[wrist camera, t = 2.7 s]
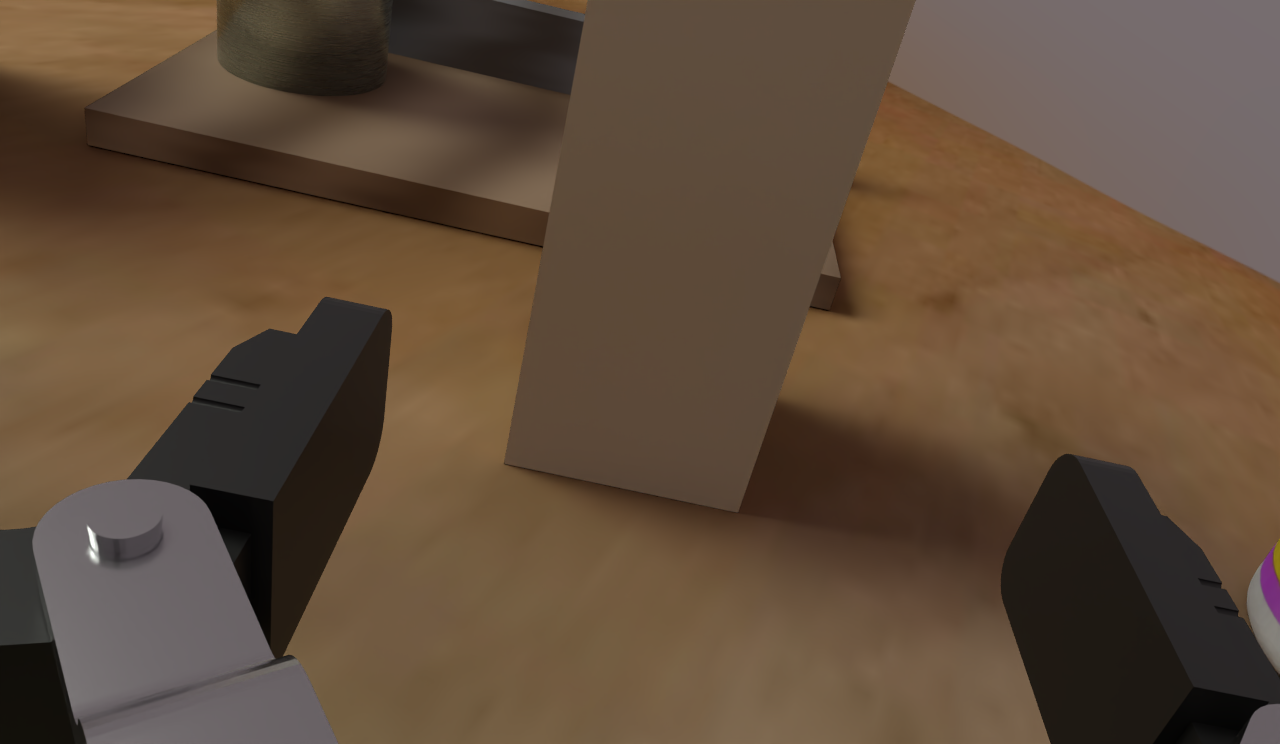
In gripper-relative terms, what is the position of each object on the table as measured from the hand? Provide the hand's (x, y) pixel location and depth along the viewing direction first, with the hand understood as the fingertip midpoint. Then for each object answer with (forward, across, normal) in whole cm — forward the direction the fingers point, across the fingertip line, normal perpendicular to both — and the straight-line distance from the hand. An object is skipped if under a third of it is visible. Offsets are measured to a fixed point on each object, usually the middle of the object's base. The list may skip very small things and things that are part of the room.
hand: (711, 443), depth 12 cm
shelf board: (+26, +6, +7) cm, 28 cm away
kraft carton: (+11, 0, +8) cm, 14 cm away
